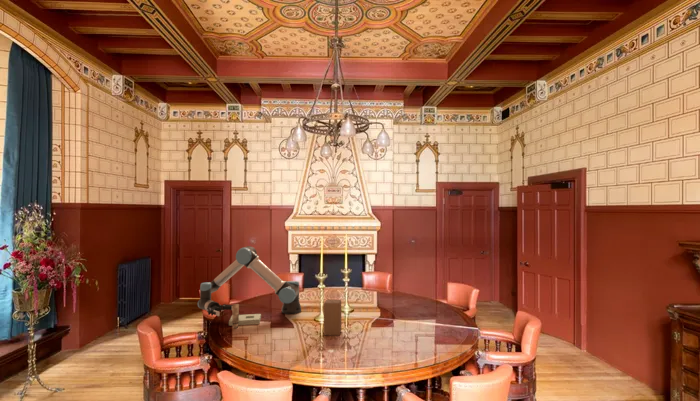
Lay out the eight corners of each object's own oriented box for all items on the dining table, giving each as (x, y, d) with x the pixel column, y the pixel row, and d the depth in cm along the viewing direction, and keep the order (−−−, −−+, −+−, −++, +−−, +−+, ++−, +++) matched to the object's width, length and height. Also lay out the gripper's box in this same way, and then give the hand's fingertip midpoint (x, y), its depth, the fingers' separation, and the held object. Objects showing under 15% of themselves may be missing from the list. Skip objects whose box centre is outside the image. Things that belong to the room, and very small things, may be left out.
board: (260, 317, 254) (260, 313, 254) (259, 323, 241) (259, 319, 241) (232, 319, 251) (232, 315, 251) (228, 325, 237) (228, 321, 237)
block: (341, 330, 226) (341, 299, 226) (339, 336, 216) (339, 303, 216) (326, 330, 227) (326, 299, 227) (323, 335, 217) (323, 302, 217)
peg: (239, 326, 235) (239, 303, 236) (238, 328, 231) (238, 305, 232) (232, 326, 235) (232, 304, 235) (231, 328, 231) (231, 305, 231)
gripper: (228, 308, 262) (244, 313, 248) (195, 315, 243) (210, 321, 229) (228, 298, 262) (244, 302, 248) (195, 304, 243) (211, 310, 229)
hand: (228, 311), depth 239 cm, fingers open, 13 cm apart
